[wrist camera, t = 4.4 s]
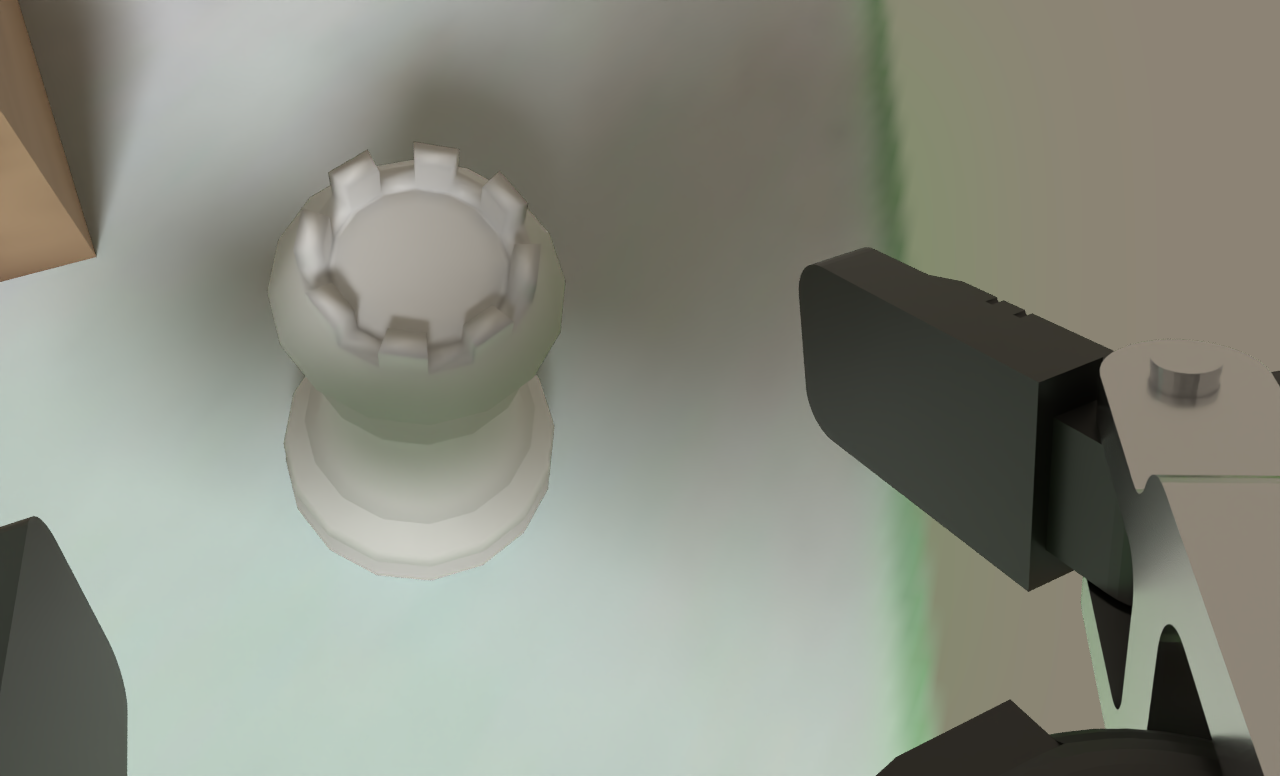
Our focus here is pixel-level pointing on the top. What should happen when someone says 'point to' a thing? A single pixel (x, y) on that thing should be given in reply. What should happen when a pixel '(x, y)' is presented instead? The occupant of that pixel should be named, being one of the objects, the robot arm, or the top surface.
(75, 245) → the walnut base block
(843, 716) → the top surface
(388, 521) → the rook chess piece
